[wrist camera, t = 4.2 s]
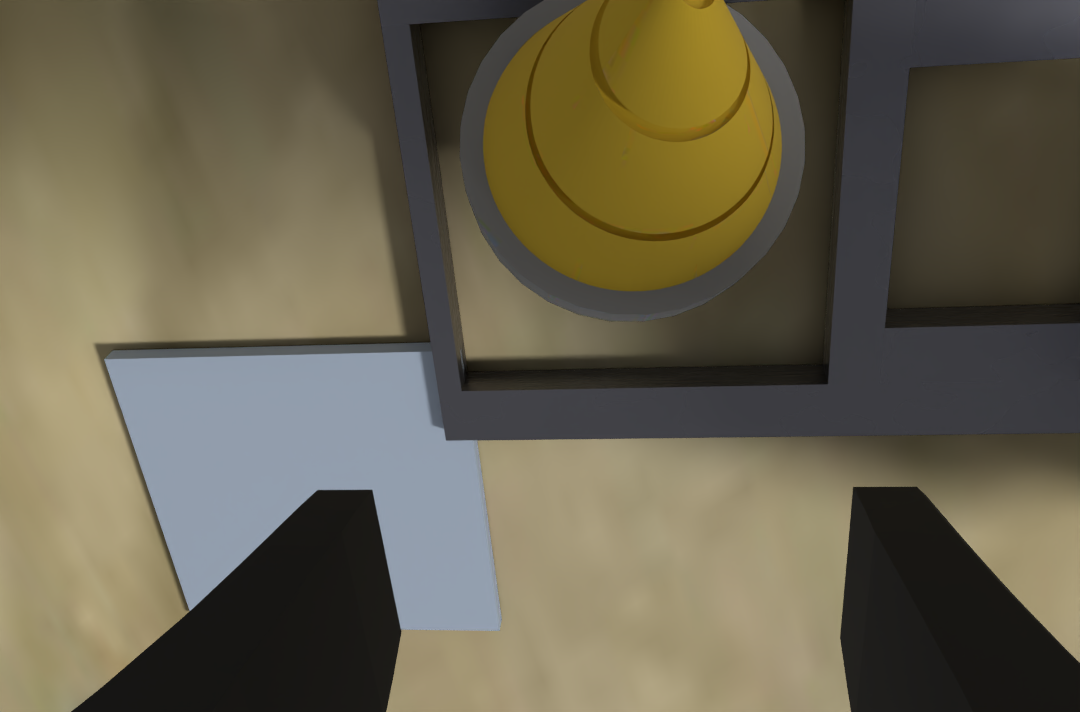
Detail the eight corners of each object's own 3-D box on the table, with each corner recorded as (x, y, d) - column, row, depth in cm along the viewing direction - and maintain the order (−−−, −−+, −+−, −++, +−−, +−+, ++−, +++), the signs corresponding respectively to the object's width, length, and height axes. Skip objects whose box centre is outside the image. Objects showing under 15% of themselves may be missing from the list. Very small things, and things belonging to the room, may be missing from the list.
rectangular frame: (1243, -124, 16) (1270, -120, 15) (1118, 410, 21) (1134, 432, 20) (380, -57, 18) (369, -51, 17) (452, 420, 23) (445, 440, 22)
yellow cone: (444, 107, 20) (336, -236, 10) (709, 32, 20) (876, -386, 10) (519, 372, 19) (488, 303, 9) (790, 295, 19) (1052, 142, 9)
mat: (463, 341, 22) (460, 350, 21) (501, 619, 25) (499, 630, 25) (112, 350, 23) (103, 359, 22) (200, 615, 26) (195, 626, 26)
